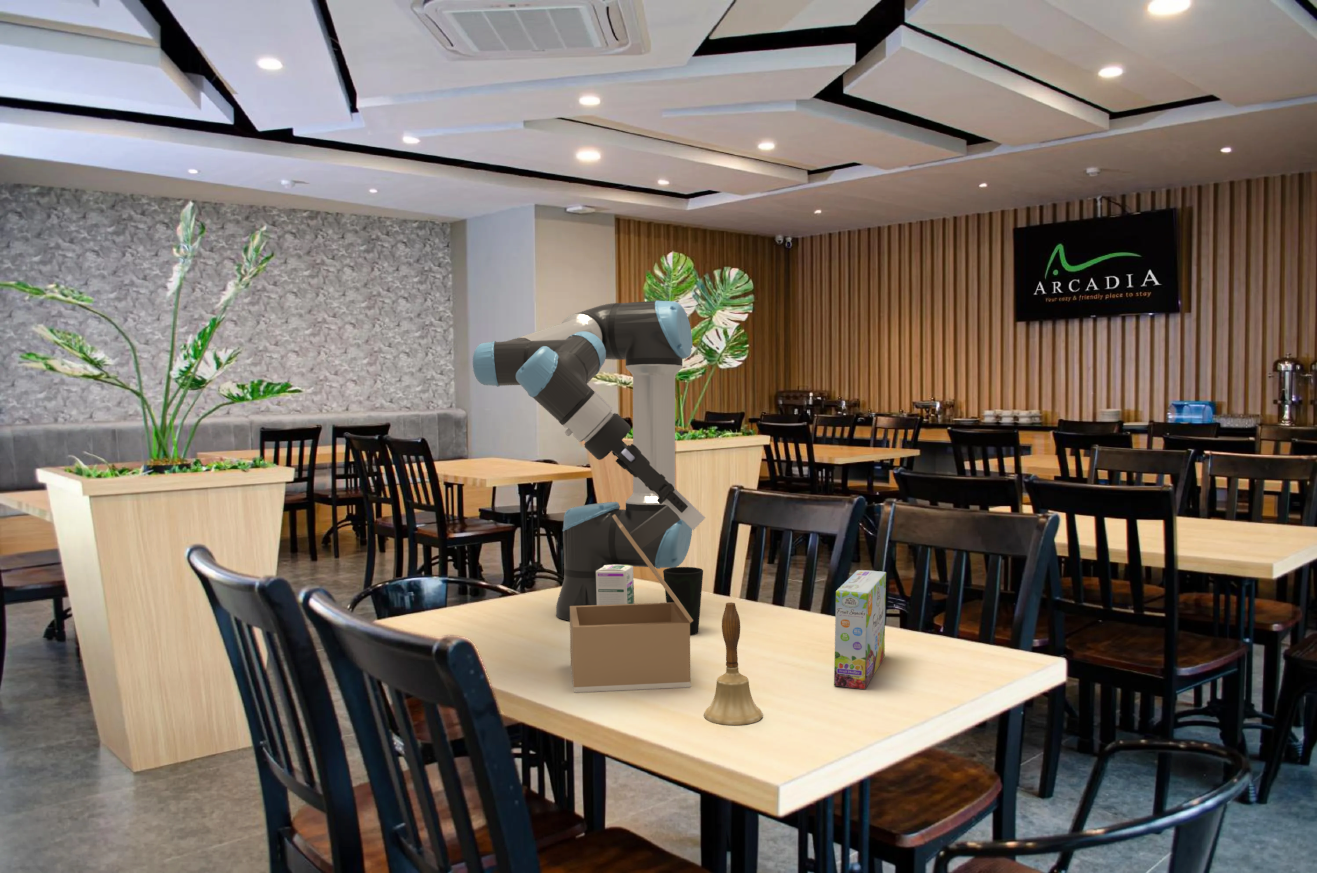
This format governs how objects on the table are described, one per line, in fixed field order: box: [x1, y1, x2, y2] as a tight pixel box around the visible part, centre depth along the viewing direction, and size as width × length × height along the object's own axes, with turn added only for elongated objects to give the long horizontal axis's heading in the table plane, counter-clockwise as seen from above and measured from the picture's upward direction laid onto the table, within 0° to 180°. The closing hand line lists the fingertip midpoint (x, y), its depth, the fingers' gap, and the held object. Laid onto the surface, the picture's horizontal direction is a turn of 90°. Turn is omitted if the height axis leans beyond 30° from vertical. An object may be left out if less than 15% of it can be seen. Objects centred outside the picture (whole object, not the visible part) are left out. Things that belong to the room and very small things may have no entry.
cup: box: [662, 566, 704, 636], centre depth 188 cm, size 8×8×12 cm
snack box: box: [833, 569, 887, 690], centre depth 160 cm, size 21×6×15 cm, turn 160°
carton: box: [569, 602, 692, 693], centre depth 159 cm, size 18×16×10 cm
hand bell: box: [703, 602, 764, 726], centre depth 138 cm, size 8×8×16 cm
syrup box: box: [596, 564, 635, 605], centre depth 178 cm, size 6×6×14 cm
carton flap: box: [612, 505, 693, 623], centre depth 159 cm, size 18×16×9 cm
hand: (692, 518), depth 159 cm, fingers open, 13 cm apart
